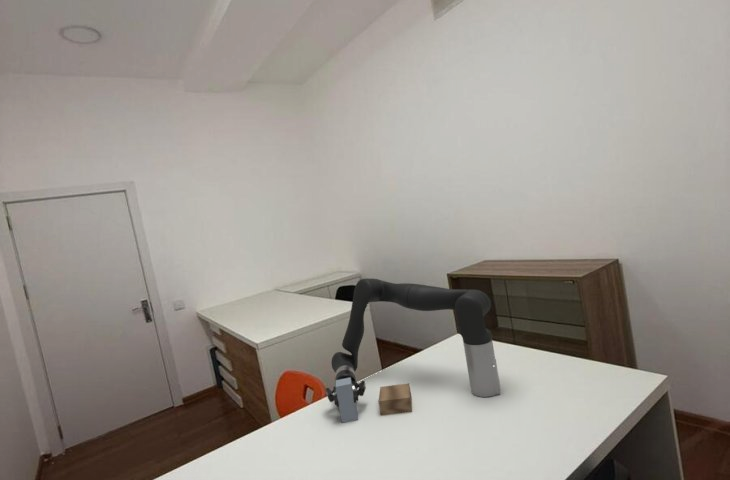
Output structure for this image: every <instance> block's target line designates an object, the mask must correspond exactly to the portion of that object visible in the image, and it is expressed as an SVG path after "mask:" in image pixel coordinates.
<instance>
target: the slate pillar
mask: <svg viewBox="0 0 730 480" xmlns="http://www.w3.org/2000/svg"><path fill="white" fill-rule="evenodd" d="M334 386H335V387H336V393H337V398H338V402H339V406H338V408H339V413H340V418H341V423H342V424H345V423H348V422H354V421H358V410H357V405H356V404H357V403H354V398H353V388H352V382H351V377H350V378H345V379H340V380H336V385H335V384H334Z"/></svg>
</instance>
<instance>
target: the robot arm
mask: <svg viewBox="0 0 730 480" xmlns="http://www.w3.org/2000/svg"><path fill="white" fill-rule="evenodd" d="M377 302H385V303H392V304H393V303H394V304H397V305H398V306H401V307H403V308H406V309H410V310H415V311H422V312H435V311H442V310H443V311H446V310H452V311H454V313H455V318H456V323H457V328H458V331H459V334H460V336H461V338H462V342H463V347H464V348H463V349H464V353H465V355H464V356H465V361H466V367H467V374H468V380H469V386H470V392H471V394H473V395H474V396H476V397H479V398H490V397H493V396H496V395H497V396H498V395H501V384H500V378H499V377H500V376H499V371H498V370H499V369H498V365H497V359H496V356H495V349H494V348H495V347H494V342H493V336H492V332H491V330H490V329H488V328H487V327H486V323H485V316H486V314H488V312H489V311H490V309H491V307H492V300H491V298H490V297H489V296H488V295H487V293H485V292H483V291H482V290H479V289H453V288H445V287H439V286H432V285H426V284H419V283H409V282H408V283H403V282H402V283H396V282H395V283H394V282H388V281H386V280H382V279H378V278H361V279H359V280H358V281H357V282H356V285H355V287H354V290H353V296H352V302H351V310H350V314H349V320H348V324H347V327H346V331H345V334H344V335H343V336H344V337H343V339H342V343H341V346H342V347H341V348H343V349H344V350H345V351H347V352H349V353H350V354H349V353H345V352H342V351H337V352H335V353H334V354H333V356H332V358H331V368H332V370H333V371H334V373H335V374H334V375H335V376H334V386H333V388H329V387H326V388H325V393H326V398H327V399H328V400H329V402H330V403H333V402H334V406H336V407H339V402H338V398H337V393H336V387H335V385H336V380H340V379H345V378H350V377H351V382H352V388H353V398H354V403H355V404H357V402H358V401H359V396H360V397H363V396H364V395H365V392H366V389H367V387H366V383H365V382H366V381H365V380H362V381H361V382H359V383H358V382H357V377H356V373H355V372H356V371H357V369H358V366H359V365H358V363H359V362H358V361H359V350H360V346H361V343H362V340H363V338H364V337H363V336H364V333H365V321H364V320H365V312H366V309H367V306H368V305H369V303H377Z"/></svg>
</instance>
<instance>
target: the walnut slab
mask: <svg viewBox="0 0 730 480" xmlns="http://www.w3.org/2000/svg"><path fill="white" fill-rule="evenodd" d="M378 394H379V395H378V406H379V411H380V416H387V415H388V416H390V415H396V414H405V413H406V414H407V413H412V412H413V402H412V401H413V399H412V398H413V397H412V392H411V386H410V383H402V384H401V383H400V384H393V385H392V384H391V385H386V386H385V385H384V386H380V388H379V393H378Z"/></svg>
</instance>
